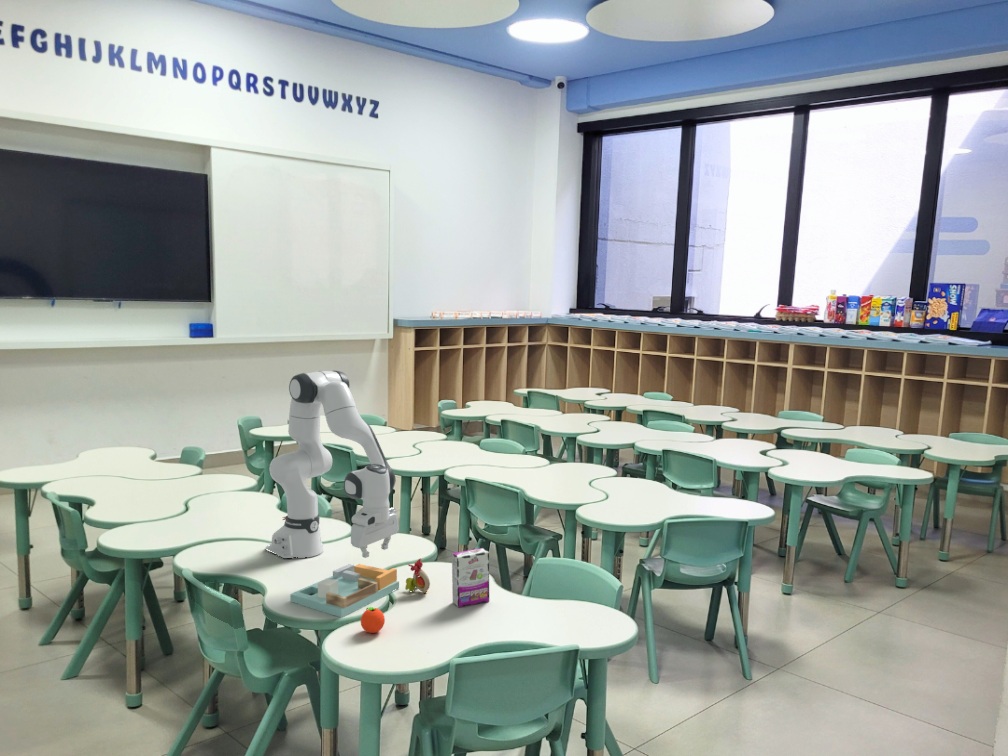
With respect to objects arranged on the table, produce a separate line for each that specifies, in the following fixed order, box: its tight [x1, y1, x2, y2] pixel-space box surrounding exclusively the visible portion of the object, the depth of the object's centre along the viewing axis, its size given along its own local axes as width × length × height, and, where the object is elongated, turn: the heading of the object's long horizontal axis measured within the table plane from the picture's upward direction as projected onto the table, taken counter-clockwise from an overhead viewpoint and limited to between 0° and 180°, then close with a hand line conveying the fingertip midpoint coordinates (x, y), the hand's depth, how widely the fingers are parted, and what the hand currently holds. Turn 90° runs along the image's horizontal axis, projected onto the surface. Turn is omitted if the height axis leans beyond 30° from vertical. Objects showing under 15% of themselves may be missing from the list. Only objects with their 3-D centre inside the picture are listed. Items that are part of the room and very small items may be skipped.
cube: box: [318, 577, 338, 599], centre depth 243 cm, size 4×4×4 cm
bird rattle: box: [405, 558, 431, 594], centre depth 253 cm, size 6×11×9 cm
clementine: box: [360, 606, 386, 634], centre depth 223 cm, size 8×7×7 cm
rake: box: [354, 563, 398, 590], centre depth 255 cm, size 16×9×4 cm, turn 63°
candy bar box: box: [451, 547, 490, 608], centre depth 244 cm, size 11×5×16 cm, turn 117°
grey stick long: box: [342, 570, 360, 582], centre depth 257 cm, size 6×2×2 cm, turn 58°
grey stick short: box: [332, 563, 355, 579], centre depth 261 cm, size 2×8×2 cm, turn 148°
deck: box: [289, 575, 400, 618], centre depth 250 cm, size 22×27×2 cm
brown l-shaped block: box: [326, 578, 378, 608], centre depth 242 cm, size 8×15×3 cm, turn 148°
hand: (375, 552), depth 259 cm, fingers open, 8 cm apart
